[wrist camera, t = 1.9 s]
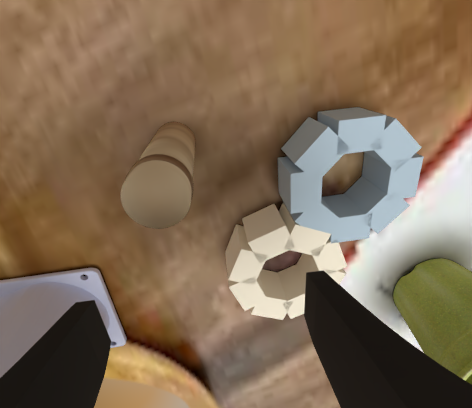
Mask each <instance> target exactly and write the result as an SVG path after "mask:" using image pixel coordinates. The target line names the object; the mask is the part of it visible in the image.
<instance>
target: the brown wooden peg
mask: <svg viewBox="0 0 472 408" xmlns="http://www.w3.org/2000/svg"><path fill="white" fill-rule="evenodd" d="M195 145H196V142H195V137H194V134H193V132H192V131H191V130H190V129H189V128H188V127H187V126H186V125H184V124H182V123H178V122H170V123H166V124H164V125H163V126H161V127H160V128H159V130H158V131H157V133H156V134H155V136H154V137H153V139H152V140H151V142H150V143H149V145H148V146H147V148H146V149H145V151H144V152H143V154H142V155H141V157H140V159H139V160H138V161H137V162H136V163H135V164H134V165H133V167H132V168H131V170H130V171H129V173H128V174H127V176H126V179H125V182H124V183H123V186H122V189H121V202H122V206H123V208H124V210H125V212H126V213H127V214H128V215H129V217H130V218H131V219H133V220H134V221H135V222H137V223H138V224H140V225H143V226H145V227H149V228H155V229H161V228H168V227H171V226H173V225H175V224H177V223H179V222H180V221H181V220H182V219H183V218H184V217H185V216H186V215H187V213H188V211H189V208H190V204H191V200H192V196H193V170H194V157H195Z"/></svg>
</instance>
